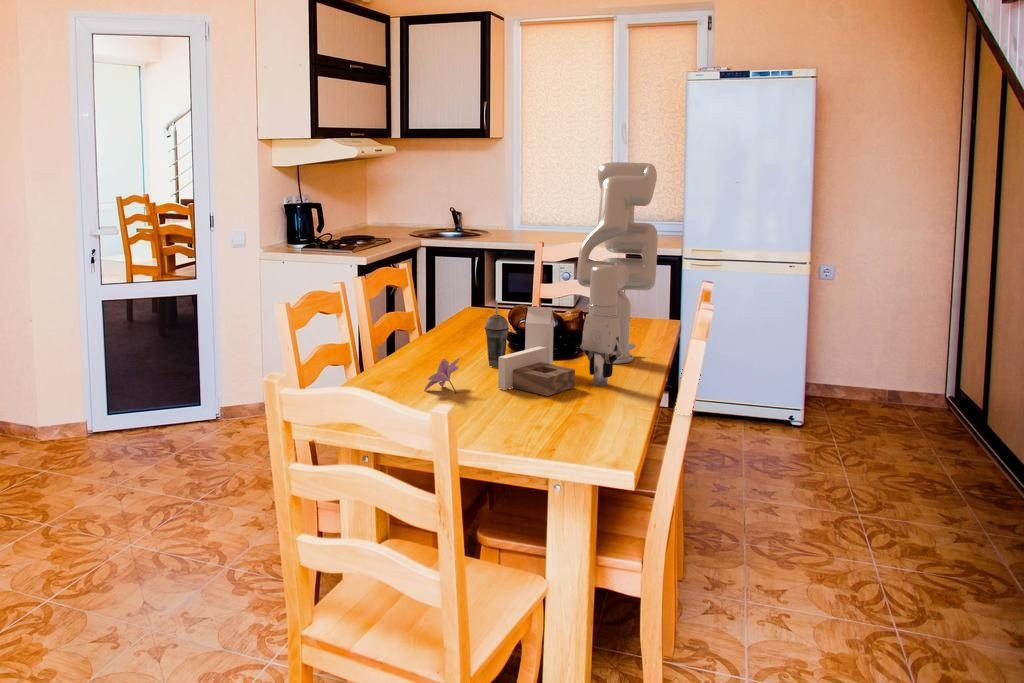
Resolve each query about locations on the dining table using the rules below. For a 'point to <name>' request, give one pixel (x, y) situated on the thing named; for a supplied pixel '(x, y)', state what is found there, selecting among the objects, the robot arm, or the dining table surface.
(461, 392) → the dining table surface
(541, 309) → the milk carton
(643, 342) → the dining table surface
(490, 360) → the beverage cup
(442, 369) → the lily
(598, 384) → the steel peg
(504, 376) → the backstop wall
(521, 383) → the socket block
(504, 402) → the dining table surface
